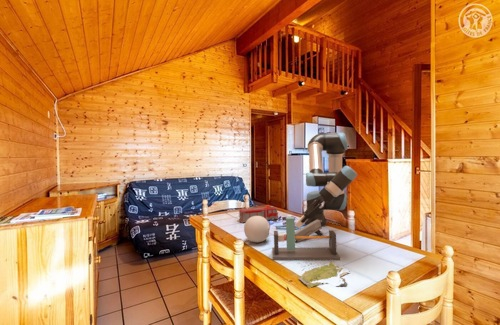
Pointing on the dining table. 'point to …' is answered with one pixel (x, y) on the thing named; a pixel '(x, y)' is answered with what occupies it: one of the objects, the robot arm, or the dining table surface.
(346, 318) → the dining table surface
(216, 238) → the dining table surface
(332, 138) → the robot arm
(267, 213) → the toy
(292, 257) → the grey slider rail stand
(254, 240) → the toy
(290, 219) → the sleeve
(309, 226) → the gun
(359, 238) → the dining table surface
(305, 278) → the landscape model
